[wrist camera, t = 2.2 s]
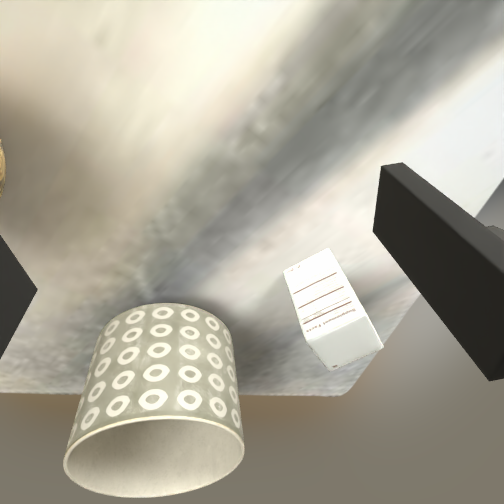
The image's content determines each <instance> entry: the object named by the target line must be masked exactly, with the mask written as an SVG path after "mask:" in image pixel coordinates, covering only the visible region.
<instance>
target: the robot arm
mask: <svg viewBox="0 0 504 504" xmlns="http://www.w3.org/2000/svg"><path fill="white" fill-rule="evenodd" d="M373 233H374V234H375V235H376V236H377V238H378V239H379V240H380V242H381V243H382V244H383V245H384V247H385V248H386V249H387V251H388V252H389V253H390V254H391V256H392V257H393V258H394V260H395V261H396V262H397V263H398V265H399V266H400V267H401V269H402V270H403V271H404V272H405V274H406V275H407V276H408V278H409V279H410V280H411V281H412V283H413V284H414V285H415V287H416V288H417V289H418V290H419V292H420V293H421V294H422V295H423V297H424V298H425V299H426V301H427V302H428V303H429V304H430V306H431V307H432V308H433V310H434V311H435V312H436V314H437V315H438V316H439V317H440V319H441V320H442V321H443V323H444V324H445V325H446V326H447V328H448V329H449V330H450V332H451V333H452V334H453V335H454V337H455V338H456V339H457V341H458V342H459V343H460V344H461V346H462V347H463V348H464V349H465V351H466V352H467V353H468V355H469V356H470V357H471V359H472V360H473V361H474V362H475V364H476V365H477V366H478V368H479V369H480V370H481V372H482V373H483V374H484V375H485V377H486V378H487V379H488V380H489V381H493V380H498V379H503V378H504V230H502V229H500V228H498V227H495V226H488V227H485V226H484V225H483V224H481V223H480V222H479V221H477V220H476V219H475V218H474V217H472V216H471V215H470V214H468V213H467V212H466V211H465V210H463V209H462V208H461V207H459V206H458V205H457V204H456V203H454V202H453V201H452V200H450V199H449V198H448V197H446V196H445V195H444V194H443V193H441V192H440V191H439V190H437V189H436V188H435V187H434V186H432V185H431V184H430V183H428V182H427V181H426V180H425V179H423V178H422V177H421V176H419V175H418V174H417V173H415V172H414V171H413V170H412V169H410V168H409V167H408V166H406V165H405V164H404V163H403V162H402V163H396V164H390V165H384V166H381V171H380V179H379V187H378V194H377V202H376V210H375V217H374V225H373ZM37 290H38V289H37V288H36V286H35V285H34V283H33V282H32V280H31V279H30V278H29V276H28V275H27V273H26V272H25V270H24V269H23V267H22V266H21V264H20V263H19V262H18V260H17V259H16V257H15V256H14V254H13V253H12V251H11V250H10V248H9V247H8V245H7V244H6V243H5V241H4V240H3V238H2V237H1V235H0V359H1V357H2V355H3V353H4V351H5V349H6V348H7V346H8V344H9V342H10V340H11V338H12V336H13V335H14V333H15V331H16V329H17V327H18V325H19V323H20V322H21V320H22V318H23V316H24V314H25V312H26V310H27V309H28V307H29V305H30V303H31V301H32V299H33V297H34V296H35V294H36V292H37Z"/></svg>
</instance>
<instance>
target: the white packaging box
mask: <svg viewBox="0 0 504 504" xmlns="http://www.w3.org/2000/svg"><path fill="white" fill-rule="evenodd" d="M283 274H284V277H285V280H286V283H287V286H288V289H289V292H290V295H291V298H292V302H293V305H294V308H295V311H296V314H297V317H298V320H299V323H300V327H301V330H302V333H303V335H304V338H305V341H306V343H307V344H308V346H309V347H310V348H311V349H312V350H313V352H314V353H315V354H316V355H317V357H318V358H319V359H320V360H321V362H322V363H323V364H324V365H325V366H326V368H327V369H328V370H329V371H332V370H335V369H338V368H340V367H342V366H345V365H347V364H349V363H351V362H354V361H356V360H358V359H360V358H363V357H365V356H367V355H369V354H372V353H374V352H376V351H378V350H380V349H382V348H383V345H382V342H381V340H380V338H379V336H378V334H377V332H376V330H375V328H374V326H373V325H372V323H371V321H370V319H369V317H368V315H367V314H366V312H365V310H364V308H363V306H362V305H361V303H360V301H359V299H358V298H357V296H356V294H355V292H354V290H353V289H352V287H351V285H350V283H349V282H348V280H347V278H346V276H345V275H344V273H343V271H342V269H341V268H340V266H339V264H338V263H337V261H336V259H335V258H334V256H333V254H332V252H331V251H330V249H329V248H327V249H325V250H323V251H321V252H319V253H317V254H315V255H313V256H311V257H309V258H307V259H305V260H303V261H302V262H300V263H298V264H296V265H294V266H292V267H290V268H288V269H286V270H285V271H283Z"/></svg>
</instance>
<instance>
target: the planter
mask: <svg viewBox="0 0 504 504" xmlns="http://www.w3.org/2000/svg"><path fill="white" fill-rule="evenodd" d="M244 450H245V449H244V439H243V430H242V421H241V413H240V404H239V395H238V386H237V378H236V369H235V360H234V351H233V343H232V337H231V334H230V332H229V330H228V328H227V327H226V326H225V324H224V323H223V322H222V321H221V320H219V319H218V318H217V317H216V316H214V315H213V314H211V313H209V312H207V311H205V310H202V309H200V308H197V307H194V306H190V305H185V304H177V303H156V304H148V305H143V306H139V307H136V308H133V309H130V310H128V311H125V312H123V313H121V314H119V315H118V316H116V317H115V318H113V319H112V320H111V321H109V322H108V323H107V324H106V325H105V327H104V328H103V329H102V331H101V332H100V334H99V337H98V339H97V343H96V346H95V350H94V353H93V357H92V360H91V364H90V367H89V371H88V375H87V378H86V382H85V385H84V389H83V392H82V396H81V399H80V403H79V407H78V410H77V414H76V418H75V421H74V425H73V428H72V431H71V435H70V438H69V442H68V446H67V449H66V453H65V456H64V461H63V467H64V471H65V473H66V474H67V475H68V477H69V478H70V479H71V480H72V481H73V482H75V483H76V484H77V485H79V486H81V487H83V488H86V489H88V490H90V491H93V492H97V493H100V494H105V495H111V496H118V497H131V498H133V497H134V498H146V497H161V496H168V495H174V494H180V493H184V492H188V491H192V490H196V489H199V488H202V487H205V486H207V485H210V484H212V483H214V482H216V481H218V480H220V479H222V478H223V477H225V476H227V475H228V474H230V473H231V472H232V471H233V470H234V469H235V468H236V467H237V466H238V465H239V464H240V462H241V461H242V459H243V456H244Z"/></svg>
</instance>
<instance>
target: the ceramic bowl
mask: <svg viewBox="0 0 504 504" xmlns="http://www.w3.org/2000/svg"><path fill="white" fill-rule="evenodd" d="M5 176H6V161H5V155H4V150H3V146H2V143H1V140H0V197H1V195H2V192H3V188H4V183H5Z"/></svg>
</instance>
